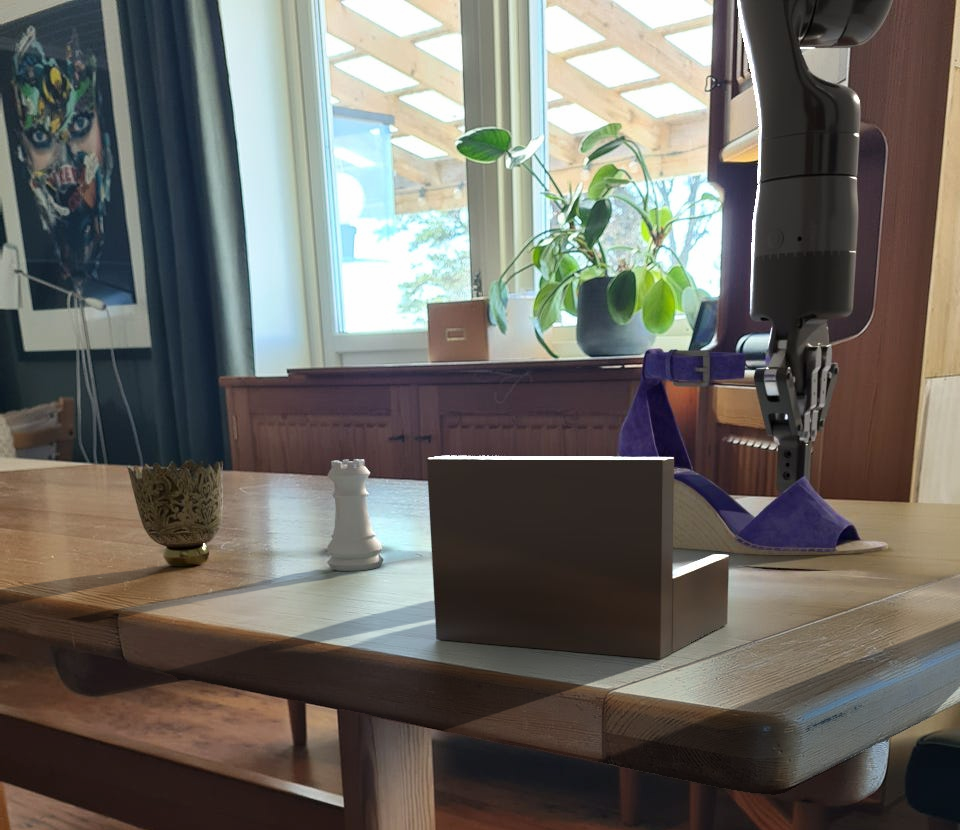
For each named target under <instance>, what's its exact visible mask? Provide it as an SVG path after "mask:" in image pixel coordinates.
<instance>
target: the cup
mask: <svg viewBox="0 0 960 830" xmlns="http://www.w3.org/2000/svg"><path fill="white" fill-rule="evenodd" d="M126 467H127V472H128V474H129V480H130V483H131V489H132V491H133V496H134V500H135V504H136V507H137V512H138V515H139V519H140V521H141V524H142V526H143V530H145V533H146V534H147V536H148V537H149V538H150V539H151V540H152V541H153V542H155V543H156V544H158V545H161V546H164V550H163V553H162V557H163V559H164V560H165V562H166V563H167V565H168V566H172V567H193V566H199V565H203V564H204V563H206V562H207V561H208V559H209V555H210V550H209V549H208V547H207V545H206V544H207V543H209V542H210V541H212V540H213V539H214V538H215V537H216V535H217V534H218V533H219V530H220V529H221V525H222V519H223V505H224V503H223V502H224V501H223V498H224V497H223V495H224V494H223V493H224V492H223V491H224V489H223V487H224V485H223V484H224V483H223V478H224V477H223V467H224V463H223V461H222V460H221V461H220V462H219V461H218V460H217V461H215V463H214V465H213V467H212V465H211V464H208V465H207V467H206V465H205V462H204V461H203V460H201V461H200V462H199V463H198V465H197V464H196V462H195V461H194V460H192V458H191V459H188V460H185V462H184V463H182V464H181V465H180V466H179V467H177V465H176V463H175V462H174V461H172V460H171V461H170V463H169V465H168V466H167V467H162V466H161V465H160V464H159V463H158V462H154V463H153V464H152V468H151V467H150V466H149V465H148V464H147V463H144V464H143V465H142V469H141V470H140V468H139V466H138V465H134V466H133V469H132V468H131V467H130V466H129V465H127V466H126Z"/></svg>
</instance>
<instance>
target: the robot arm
mask: <svg viewBox="0 0 960 830" xmlns="http://www.w3.org/2000/svg"><path fill="white" fill-rule="evenodd" d="M893 1H894V0H737V9H738V17H739V22H740V23H739V24H740V29H741V33H742V38H743V42H744V47H745V51H746V54H747V59H748V63H749V69H750V72H751V78H752V83H753V90H754V95H755V101H756V108H757V116H758V124H759V125H758V126H759V127H758V129H759V133H758V134H759V135H758V162H757V164H758V165H757V184H758V185H757V189H756V198H755V205H754V210H753V211H754V212H753V219H752V236H751V237H752V238H751V239H752V240H751V241H752V242H751V267H750V268H751V269H750V298H749V299H750V301H749V316H750V319H751V320H752V321H754V322H758V323H760V322H765V323H766V322H770V323H771V328H770V334H769V340H768V344H767V345H768V346H767V349H766V352H765V363H764V364H765V366H764V367H757V368H755V371H754V374H753V382H754V386H755V391H756V395H757V399H758V403H759V407H760V411H761V417H762V421H763V424H764V428H765V433H766V436H768V437H773V441H774V443H775V444H777V455H776V456H777V458H776V459H777V460H776V478H775V480H776V483H775V484H776V485H775V490H776V491H777V493H779V494H780V495H781V494H782V493H783V492H784V491H785V490H787V489H788V488H789V487H790V486H792V485H793V484H794V483H795V482H797V481H798V480H800V479H801V478H802V477H806V479H807V480H808V482H809V483H810V482H811V463H812V462H811V461H812V442H815V441H816V438H817V435H818V432H823V430H824V426H825V424H826V419H827V417H828V412H829V409H830V406H831V401H832V398H833V395H834V391H835V387H836V383H837V380H838V375H839V373H840V368H839V364H838V362H832V359H833V349H832V348H833V347H832V346H831V345H830V338H829V325H828V324H829V320H831V319H842V318H843V319H845V318H847V317H850V315H851V314H852V313H853V309H854V295H855V277H856V265H857V264H856V263H857V245H858V228H859V199H858V178H857V177H858V170H859V169H858V168H859V152H860V135H861V134H860V132H861V131H860V130H861V113H862V112H861V102H860V97H859V95H858V93H857V92H856V91H854V90H853V89H852V88H851V87H848V86H846V85H844V84H841V83H837V82H833V81H829V80H826V79H823V78H821V77H819V76H817V75H816V74H814V72H812V71H811V70H810V68H809V66H808V64H807V62H806V59H805V57H804V54H803V51H802V49H851V48H856V47H860V46H862V45H864V44H866V43H867V42H869V40H871V39H872V38H874V36H875V35H876V34H877V32H878V31H879V30H880V29H881V27H882V26H883V24H884V23H885V21H886V18H887V17H888V15H889V12H890V10H891V7H892V4H893ZM810 484H811V483H810Z"/></svg>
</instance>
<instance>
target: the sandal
mask: <svg viewBox="0 0 960 830" xmlns="http://www.w3.org/2000/svg"><path fill="white" fill-rule="evenodd" d="M746 364H747V354H746V353H743V352H740V353H739V352H721V351H719V352H718V351H709V350H705V349H704V350H700V349H699V350H697V349H696V350H692V349H691V350H689V349H688V350H686V349H685V350H683V349H682V350H681V349H680V350H678V349H677V348H676V349H669V350H668V351H664V350H663V348H649V349H646V351H645V352H644V355H643V359H642V365H641V371H640V380H639V384H638V387H637V390H636V392H635V394H634V398H633V400H632V402H631V405H630V408H629V410H628V412H627V415H626V417H625V418H624V421H623V423H622V425H621V427H620V431H619V436H618V443H617V444H618V445H617V446H618V448H617V453H616V457H674V510H673V549H691V550H702V551H703V550H704V551H713V552H714V551H715V552H723V553H731V554H732V553H733V554H742V555H743V554H744V555H762V556H763V555H764V556H765V555H767V556H816V555H818V556H821V555H851V554H853V555H854V554H867V553H876V552H882V551H886V550H888V549H889V546H888V545H889V544H888V543H887V542H883V541H878V540H871V539H861V537H860V535H859V532H858V530H857V528H856V526H855V525H854V524H853V523H852V522H851V521H849V519H846V518H845V517H844V516H842V514H840V513H839V512H837V511H836V510H835V509H834V508H833V507H832V506H831V505H830V504H829V503H828V502H827V501H826V500H825V499H824V498H823V497H822V496H820V495H821V494H820V495H819V493H818V492H817V491H816V490H815V489H814V487H813V486H812V484H811V483H809V482H808V480H807V479H806V477H802V478H801V479H800V480H798V481H797V482H795V483H794V484H793V485H792V486H790V487H789V488H788V489H787V490H785V491H784V492H783V493H782V494H781V493H780V494H779V496H777V497H776V498H775V499H773V500H772V501H771V502H770V503H768V505H766V506H764V508H763V509H762V510H761V511H760V512H759V513H757V515H756V516H754V515H753V514H752V513H750V512H749V511H748V510H747V509H746V508H745V507H743V505H741V504H740V503H739V502H738V501H737V500H736V499H734V498H733V497H732V496H731V495H730V494H729V493H727V492H726V491H725V490H724V489H722V488H721V487H719V486H718V485H717V484H715V483H714V482H713V481H711V479H708V478H706V477H705V476H704V475H702V474H699V473H698V472H696V471H694V468H693V465H692V462H691V460H690V456H689V453H688V451H687V448H686V445H685V442H684V439H683V437H682V433H681V431H680V428H679V425H678V422H677V419H676V416H675V414H674V412H673V408H672V406H671V403H670V400H669V397H668V395H667V390H666V388H665V384H664V382H663V381H669V382H672V384H673V386H675V387H686V388H706V387H707V386H709V385H710V382H711V381H731V380H744V379H745V376H746V375H745V373H746ZM742 567H745V568H752V569H759V570H765V571H781V572H823V571H825V572H826V571H829V569H815V568H813V569H812V568H793V567H773V566H754V565H753V566H752V565H742Z"/></svg>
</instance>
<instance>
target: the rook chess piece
mask: <svg viewBox="0 0 960 830" xmlns="http://www.w3.org/2000/svg"><path fill="white" fill-rule="evenodd" d="M352 460H353V461H350V459H342V461H340V460H331V461H330V464H331V467H330V470H329V472H328V473H327V477H328V478H329V479H330V480H331V482H332V484H333V486H334V487H333V488H334V491H333V493H332V494H331V496H332V497H333V499H334V506H335V513H334V516H335V517H334V528H333V532H332V533H333V534H331V535H330V537H331V540H330V542H329V543H328V544H327V547H326V552H327V553H328V554H329V555H330V556H331V557H330V558H329V559H328V560H327V561H326V563H327V564H328V566H329V567H330V568H331V570H332V571H337V572H338V571H339V572H359V571H368V570H369V571H370V570H374V569H378V568H379V567H381V565H382V564H383V562H384V561H385V559H384V558H383V557H382V556H380V555H379V554H380V552H381V551H382V549H383V546H382V543H381V542H380V541H379V540H378V539H377V538H376V533H375V532H374V530H373V527H372V524H371V520H370V515H369V510H368V501H367V498H368V496H369V494H370V493H369V492H368V491H367V488H366V481H367V480H368V478H369V476H370V474H371V472H370V471H369V470H368V469H369V468H367V467H366V461H365V459H360V458H355V459H352Z"/></svg>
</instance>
